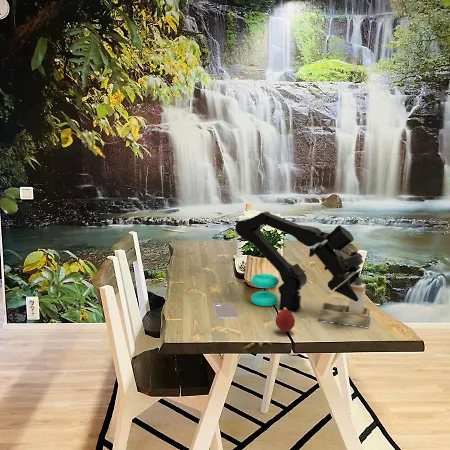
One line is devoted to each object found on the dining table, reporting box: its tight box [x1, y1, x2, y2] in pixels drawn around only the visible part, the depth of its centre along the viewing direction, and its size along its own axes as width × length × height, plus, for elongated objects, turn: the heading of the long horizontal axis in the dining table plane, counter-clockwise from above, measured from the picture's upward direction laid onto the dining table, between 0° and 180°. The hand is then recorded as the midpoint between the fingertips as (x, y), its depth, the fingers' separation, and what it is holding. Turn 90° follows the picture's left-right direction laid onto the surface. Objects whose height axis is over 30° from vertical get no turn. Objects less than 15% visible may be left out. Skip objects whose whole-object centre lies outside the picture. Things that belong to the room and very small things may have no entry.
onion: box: [275, 308, 296, 334], centre depth 140 cm, size 6×6×8 cm
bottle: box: [348, 277, 367, 314], centre depth 149 cm, size 4×4×14 cm
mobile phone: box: [212, 302, 239, 319], centre depth 158 cm, size 8×1×15 cm
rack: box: [317, 302, 371, 328], centre depth 151 cm, size 16×9×4 cm, turn 68°
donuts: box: [250, 273, 280, 307], centre depth 167 cm, size 10×10×10 cm
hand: (361, 296), depth 148 cm, fingers open, 9 cm apart
